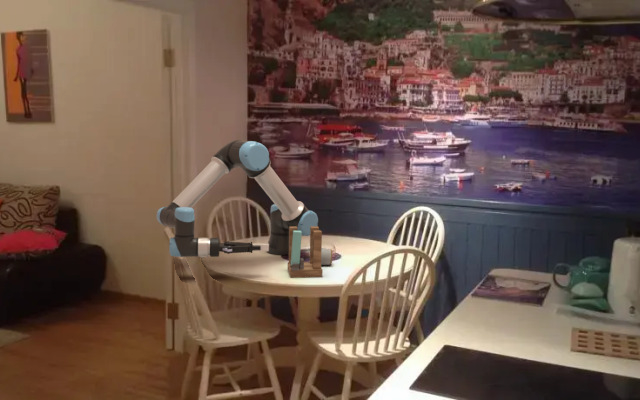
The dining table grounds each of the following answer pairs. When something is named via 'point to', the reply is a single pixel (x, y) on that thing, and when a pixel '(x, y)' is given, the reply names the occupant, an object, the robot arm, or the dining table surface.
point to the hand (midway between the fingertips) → (268, 247)
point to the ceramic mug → (326, 256)
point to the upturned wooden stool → (314, 265)
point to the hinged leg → (296, 247)
